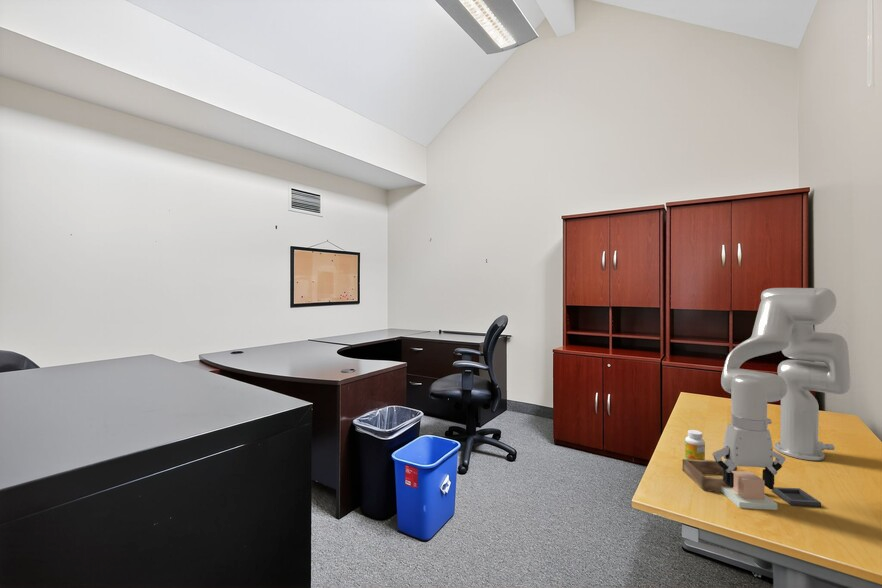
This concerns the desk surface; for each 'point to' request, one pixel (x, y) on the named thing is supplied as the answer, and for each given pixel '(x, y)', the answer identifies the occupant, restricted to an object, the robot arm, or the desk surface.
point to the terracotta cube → (748, 485)
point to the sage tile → (748, 500)
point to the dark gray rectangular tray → (796, 497)
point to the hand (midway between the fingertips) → (748, 486)
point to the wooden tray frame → (705, 466)
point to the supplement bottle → (694, 446)
